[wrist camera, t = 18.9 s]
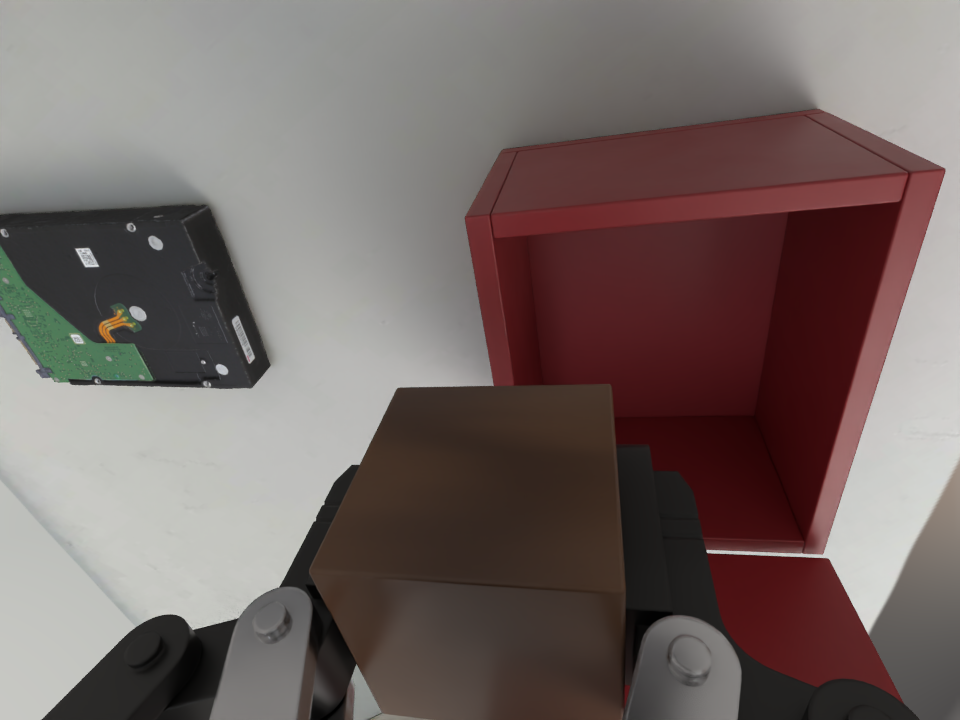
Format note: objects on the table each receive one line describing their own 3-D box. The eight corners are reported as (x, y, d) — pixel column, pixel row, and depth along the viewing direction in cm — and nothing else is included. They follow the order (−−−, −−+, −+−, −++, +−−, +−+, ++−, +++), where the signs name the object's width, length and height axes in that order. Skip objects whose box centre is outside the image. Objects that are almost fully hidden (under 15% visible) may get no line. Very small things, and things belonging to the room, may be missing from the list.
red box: (501, 149, 23) (463, 217, 16) (820, 108, 20) (947, 168, 13) (535, 419, 32) (521, 542, 24) (764, 416, 29) (823, 555, 22)
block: (436, 524, 13) (381, 715, 10) (396, 386, 11) (305, 571, 7) (613, 531, 12) (624, 746, 9) (612, 382, 10) (626, 593, 6)
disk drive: (212, 196, 27) (-20, 213, 30) (179, 215, 25) (-70, 231, 27) (278, 363, 33) (77, 364, 35) (255, 390, 30) (43, 389, 33)
